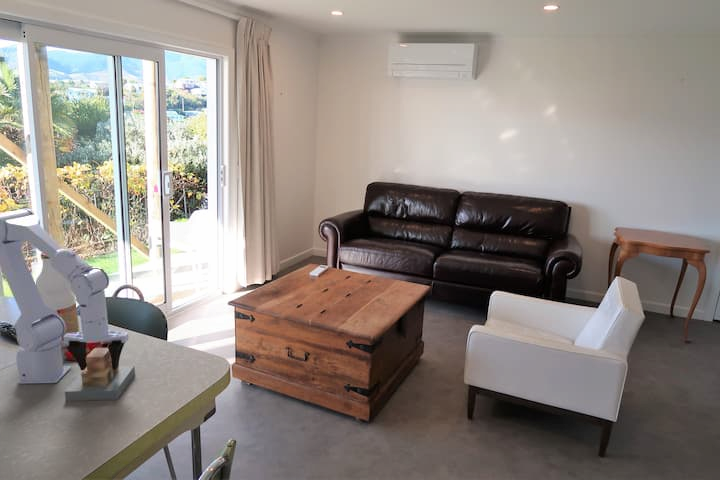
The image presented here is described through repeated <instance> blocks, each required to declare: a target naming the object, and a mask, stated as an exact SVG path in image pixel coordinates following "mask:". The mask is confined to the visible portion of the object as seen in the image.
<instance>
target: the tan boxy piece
mask: <svg viewBox="0 0 720 480" xmlns="http://www.w3.org/2000/svg"><path fill="white" fill-rule="evenodd" d="M119 366H120V365H119ZM119 366H118V368H117V369H116V370H113V369H112V361H111V362H110V364H109V365H108V366H107V367H106V368H105V370H87V368H86V369H84V370H82V372H81V373H80V374H81V377H82V385H83V386H106V385H107V384H108V379H112V378H113V376H114V374H113V372H117V371H118V370H119Z"/></svg>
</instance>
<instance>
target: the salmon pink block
mask: <svg viewBox="0 0 720 480" xmlns="http://www.w3.org/2000/svg"><path fill="white" fill-rule="evenodd" d="M111 361H112V360H111V355H110V352H109V350H108V347H107V348H94V349H93V350H92V351H91V352H90V353H89V354H88V355H87V357H86V364H87V370H105V368H106V367H107V366H108V365H109V364H110V362H111Z"/></svg>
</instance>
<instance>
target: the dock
mask: <svg viewBox="0 0 720 480" xmlns="http://www.w3.org/2000/svg"><path fill="white" fill-rule="evenodd" d="M86 368H87V367H86ZM86 368H85V369H86ZM85 369H84V370H85ZM113 374H114V376H113V378H112V379H108V384H107V385H106V386H83V385H82V377H81V373H80V374H79V375H78V376H77V377H76V378H75V380H73V382H71V383H70V385H69V386H68V387H67V388H65V390H64V399H65V401H66V402H67V401H68V402H71V401H73V402H74V401H76V402H77V401H114V400H115V401H116V400H119V398H120V397H121V395H122V394H123V392H125V390H126V388H127V387H128V385H129V384H130V383H131V381H132V379H133V378H134V376H135V375H136V370H135V365H119V370H118V371H117V372H113Z"/></svg>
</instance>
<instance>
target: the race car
mask: <svg viewBox="0 0 720 480" xmlns="http://www.w3.org/2000/svg"><path fill="white" fill-rule="evenodd" d="M110 344H112V342H95V343H87V342H86V356H87V355H88V354H89V353H90V352H91V351H92V350H93V349H94V348H108V346H109V345H110ZM63 357H64V359H65V360H67V361H76V359H75V358H74V356H73V355H72V354H71V353H70V352H69V351H68V350H67V349H66V350H65V351H64V355H63Z"/></svg>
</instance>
